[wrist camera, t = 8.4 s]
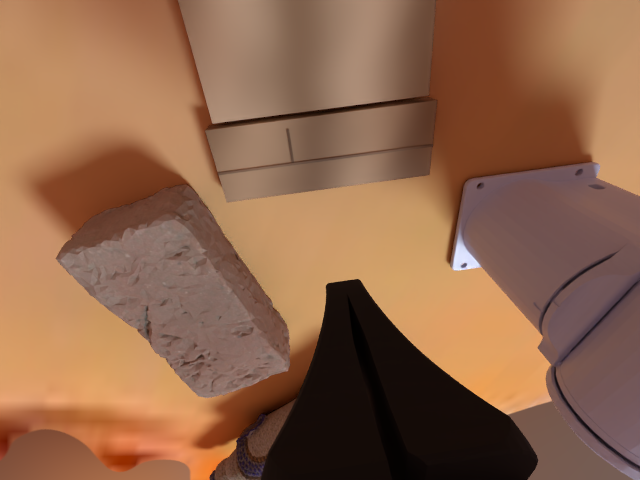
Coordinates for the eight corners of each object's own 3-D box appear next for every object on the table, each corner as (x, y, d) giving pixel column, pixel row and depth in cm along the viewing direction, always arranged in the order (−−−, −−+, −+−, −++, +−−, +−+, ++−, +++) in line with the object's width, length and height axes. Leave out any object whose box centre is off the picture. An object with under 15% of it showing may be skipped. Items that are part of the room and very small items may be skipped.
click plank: (431, -73, 14) (443, -84, 13) (420, 93, 18) (429, 95, 16) (172, -43, 14) (163, -52, 13) (216, 119, 17) (212, 123, 16)
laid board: (428, 97, 18) (437, 100, 17) (422, 168, 20) (429, 175, 19) (209, 125, 17) (204, 130, 16) (229, 194, 20) (226, 202, 19)
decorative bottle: (352, 343, 30) (368, 412, 24) (392, 372, 33) (414, 438, 28) (190, 443, 37) (174, 512, 32) (237, 458, 41) (230, 523, 35)
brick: (82, 220, 20) (33, 262, 16) (191, 174, 19) (167, 208, 15) (214, 355, 29) (203, 403, 25) (293, 329, 28) (294, 375, 24)
